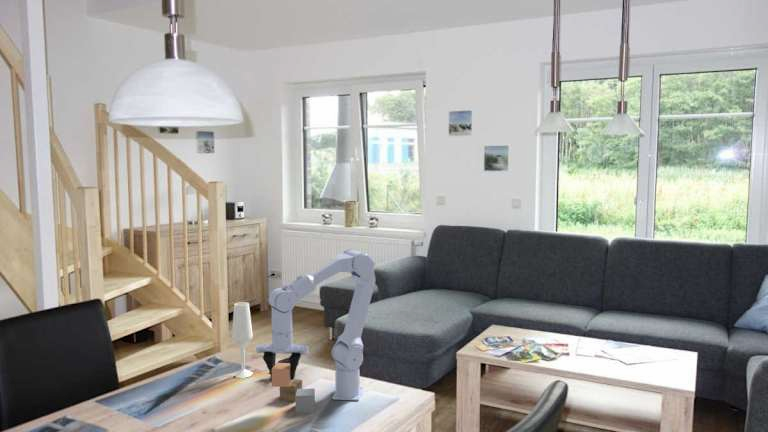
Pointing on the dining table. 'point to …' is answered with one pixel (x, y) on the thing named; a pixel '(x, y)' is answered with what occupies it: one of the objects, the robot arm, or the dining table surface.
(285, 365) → the terracotta block
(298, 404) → the slate grey block
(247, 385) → the dining table surface
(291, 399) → the walnut block
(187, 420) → the dining table surface
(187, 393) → the dining table surface
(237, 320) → the champagne flute
